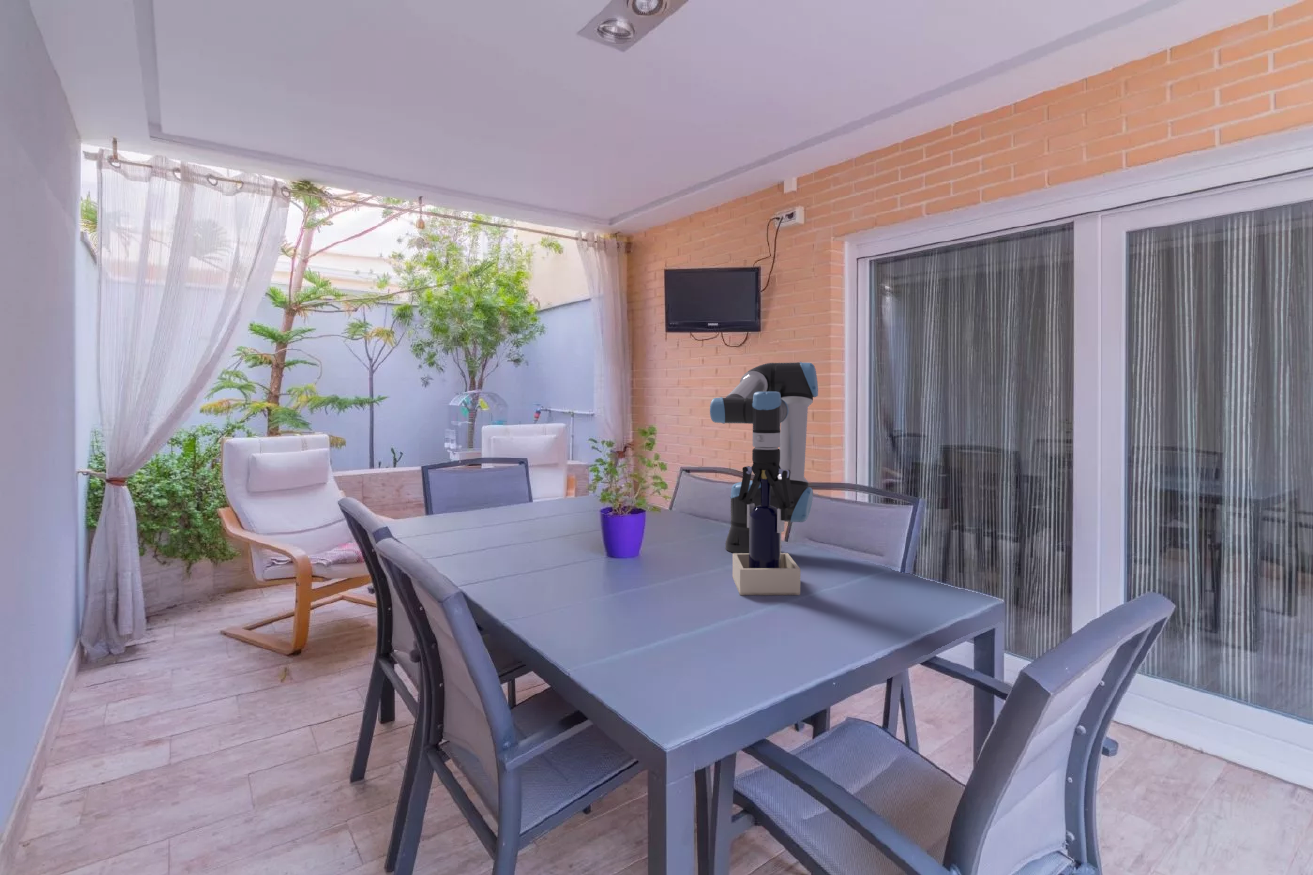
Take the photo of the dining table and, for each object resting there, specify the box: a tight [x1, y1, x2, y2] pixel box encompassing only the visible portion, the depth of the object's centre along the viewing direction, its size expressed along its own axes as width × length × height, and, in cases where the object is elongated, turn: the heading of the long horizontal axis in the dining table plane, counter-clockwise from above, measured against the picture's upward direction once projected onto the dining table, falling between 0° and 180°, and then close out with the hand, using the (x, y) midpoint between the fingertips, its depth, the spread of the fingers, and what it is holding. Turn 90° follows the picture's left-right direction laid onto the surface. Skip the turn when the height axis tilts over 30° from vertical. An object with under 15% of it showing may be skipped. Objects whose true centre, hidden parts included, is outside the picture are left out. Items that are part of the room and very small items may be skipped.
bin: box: [732, 552, 802, 596], centre depth 175 cm, size 16×16×7 cm
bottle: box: [749, 470, 782, 568], centre depth 174 cm, size 9×9×30 cm
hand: (765, 529), depth 174 cm, fingers closed on bottle, 9 cm apart
